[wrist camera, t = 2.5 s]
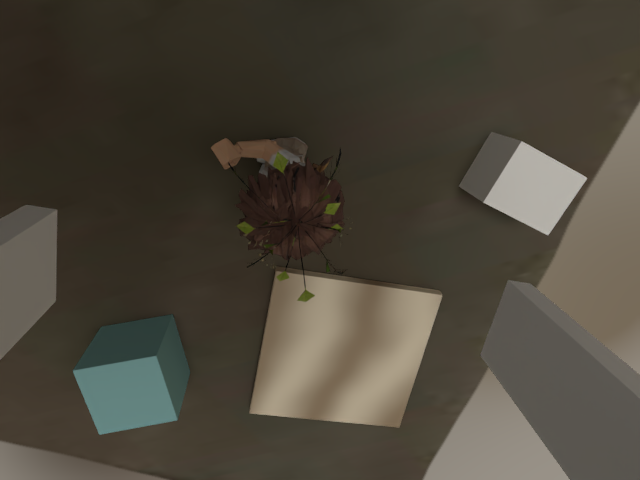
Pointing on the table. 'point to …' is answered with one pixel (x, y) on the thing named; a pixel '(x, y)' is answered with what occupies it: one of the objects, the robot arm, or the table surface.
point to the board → (342, 348)
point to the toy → (286, 200)
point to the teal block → (134, 374)
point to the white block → (522, 182)
